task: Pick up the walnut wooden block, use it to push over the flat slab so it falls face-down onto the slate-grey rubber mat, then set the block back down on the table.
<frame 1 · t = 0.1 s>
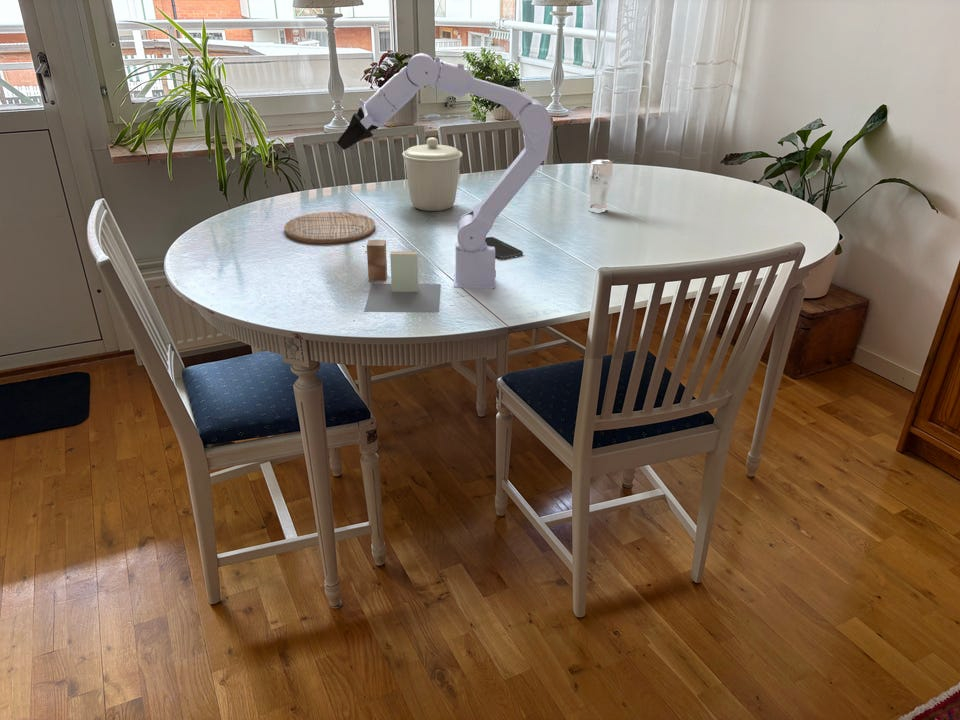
hand: (343, 142, 158), 32 cm above the table, tool tilted 50°, fingers open, 7 cm apart
trivet: (330, 231, 208), on the table
flat slab: (405, 290, 168), resting on rubber mat
phone: (496, 251, 196), on the table
wooden block: (378, 278, 175), on the table
canister: (433, 207, 230), on the table
beer glass: (597, 211, 229), on the table
rubber mat: (404, 298, 165), on the table
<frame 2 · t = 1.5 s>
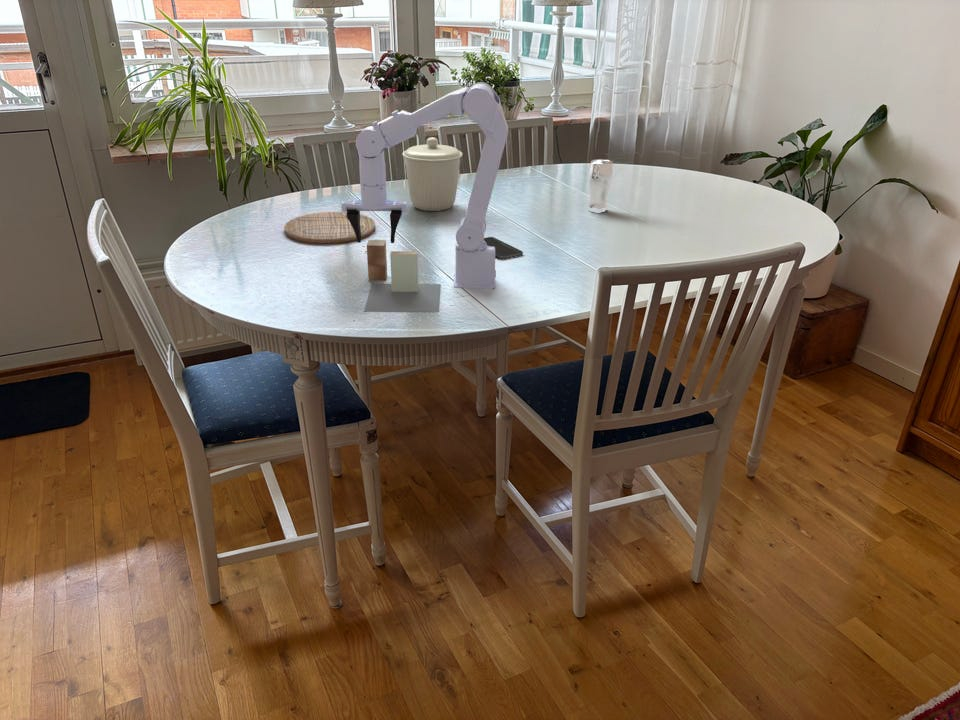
hand: (376, 241, 171), 9 cm above the table, tool pointing down, fingers open, 7 cm apart
nothing on the table moved.
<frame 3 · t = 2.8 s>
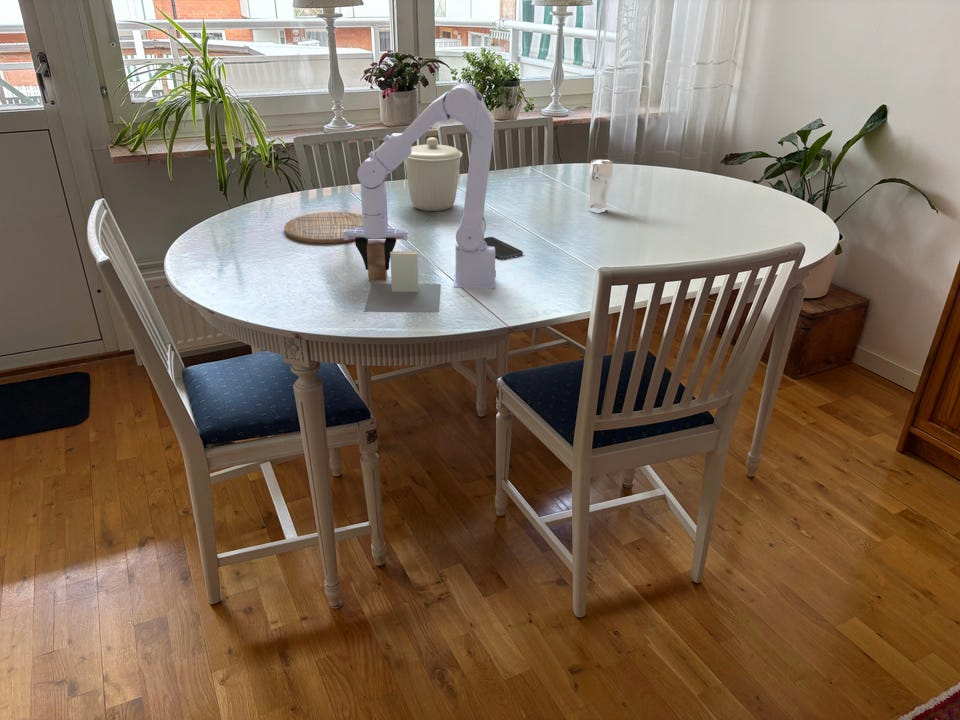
hand: (377, 268, 174), 3 cm above the table, tool pointing down, fingers closed on wooden block, 4 cm apart
wooden block: (378, 278, 175), on the table, touching gripper
everything else where it was.
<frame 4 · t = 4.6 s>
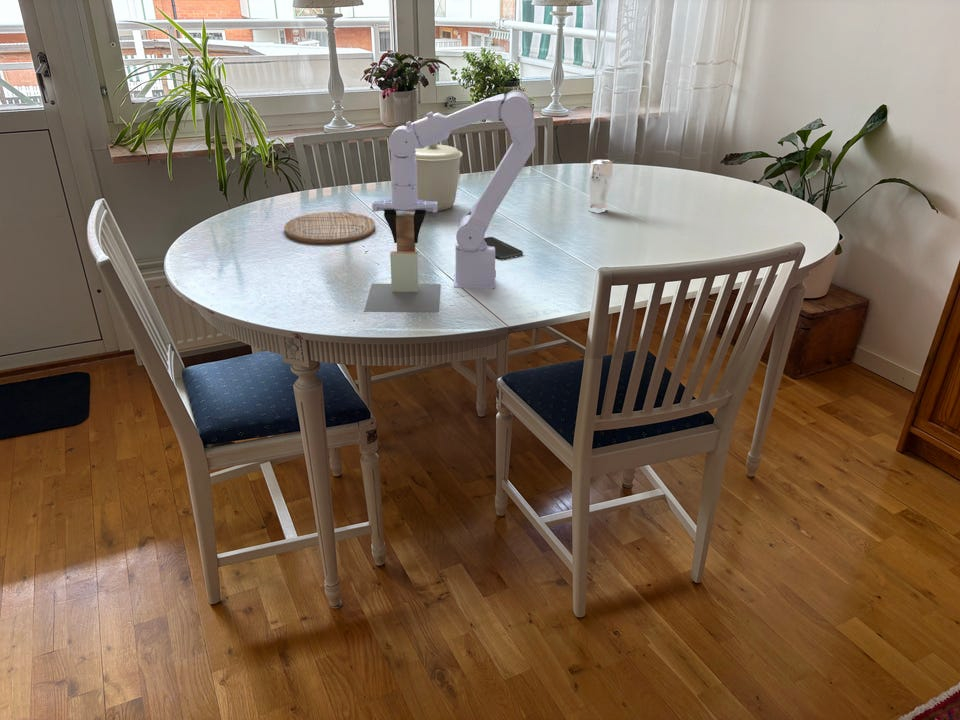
hand: (406, 241, 170), 10 cm above the table, tool pointing down, fingers closed on wooden block, 4 cm apart
wooden block: (406, 252, 171), point 7 cm above the table, touching gripper
everything else where it was.
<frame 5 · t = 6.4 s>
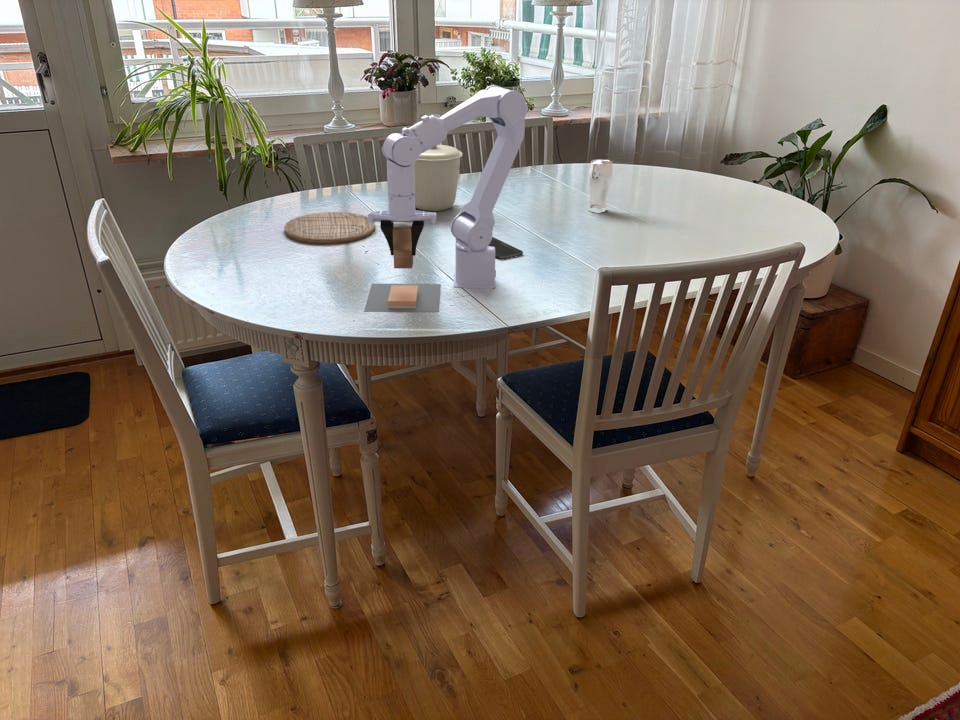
hand: (403, 254, 163), 10 cm above the table, tool pointing down, fingers closed on wooden block, 4 cm apart
flat slab: (404, 288, 167), point 1 cm above the table, tilted 90°, touching rubber mat
wooden block: (403, 265, 164), point 7 cm above the table, touching gripper
everything else where it was.
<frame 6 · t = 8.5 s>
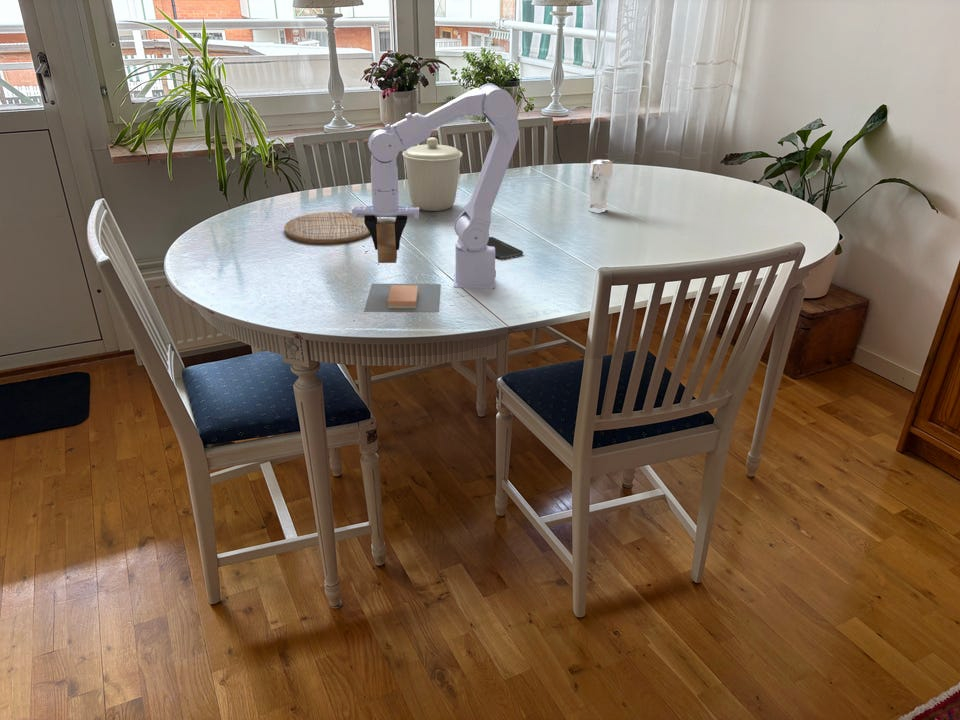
hand: (387, 248, 166), 10 cm above the table, tool pointing down, fingers closed on wooden block, 4 cm apart
wooden block: (387, 259, 167), point 7 cm above the table, touching gripper
everything else where it was.
when the fingers open (4 cm above the table, at t = 10.5 s): wooden block stays where it is, on the table.
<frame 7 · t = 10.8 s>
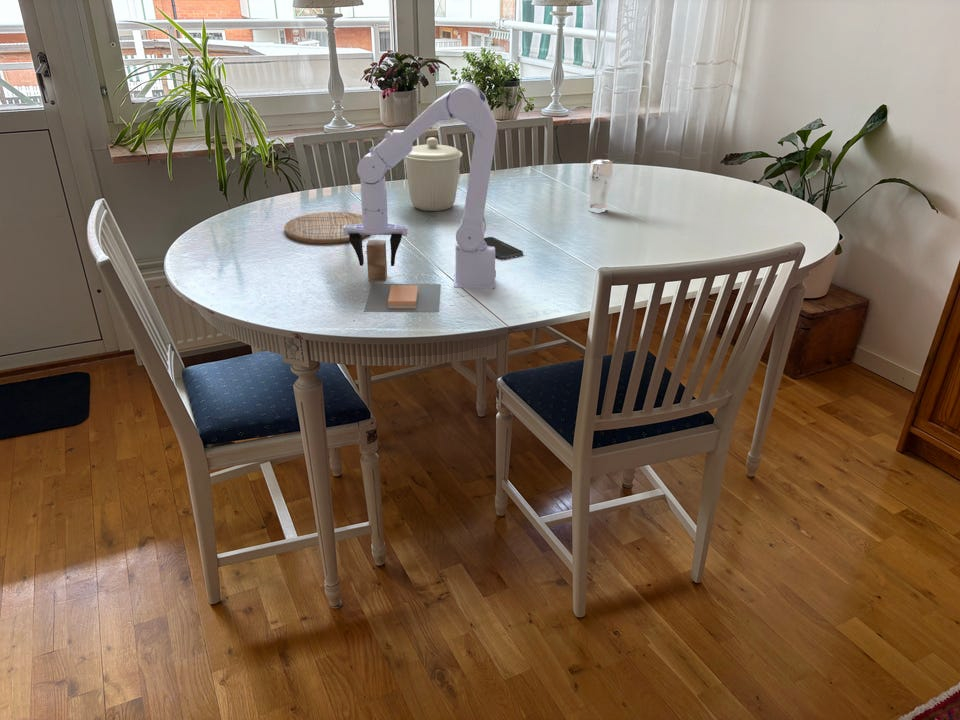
hand: (377, 264, 174), 4 cm above the table, tool pointing down, fingers open, 7 cm apart
wooden block: (377, 279, 175), on the table
everything else where it was.
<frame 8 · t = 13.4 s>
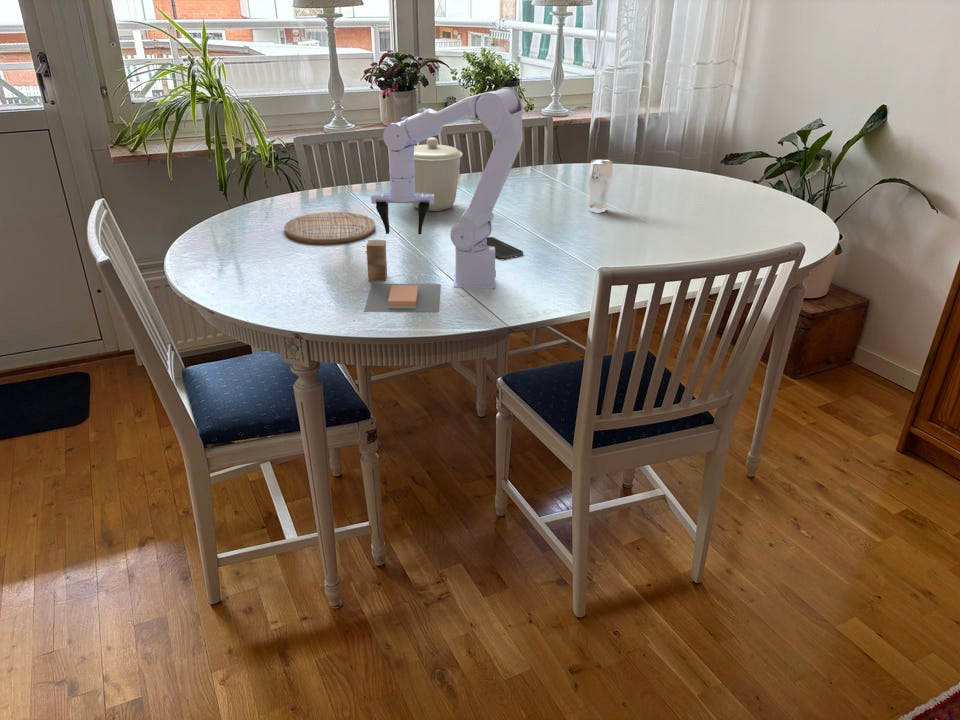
hand: (403, 232, 176), 9 cm above the table, tool pointing down, fingers open, 7 cm apart
nothing on the table moved.
at the end: flat slab tilted 90°; flat slab inside the target area on the rubber mat (4.1 cm from its centre), point 1.2 cm above the rubber mat's base; wooden block inside the target area (0.2 cm from its centre), on the table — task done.
